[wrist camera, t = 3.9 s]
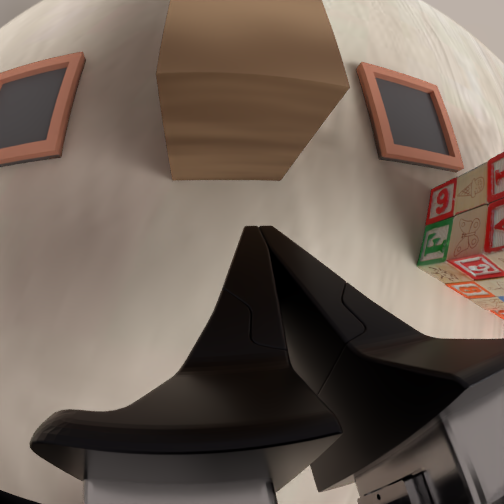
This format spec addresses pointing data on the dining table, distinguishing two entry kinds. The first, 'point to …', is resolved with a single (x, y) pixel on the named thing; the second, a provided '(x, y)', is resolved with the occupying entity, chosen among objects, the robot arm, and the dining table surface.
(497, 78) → the dining table surface
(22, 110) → the tile
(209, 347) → the robot arm
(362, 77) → the tile
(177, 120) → the walnut brick
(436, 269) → the stack of blocks
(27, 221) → the dining table surface
